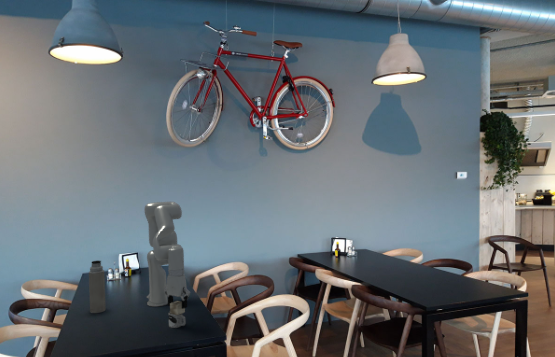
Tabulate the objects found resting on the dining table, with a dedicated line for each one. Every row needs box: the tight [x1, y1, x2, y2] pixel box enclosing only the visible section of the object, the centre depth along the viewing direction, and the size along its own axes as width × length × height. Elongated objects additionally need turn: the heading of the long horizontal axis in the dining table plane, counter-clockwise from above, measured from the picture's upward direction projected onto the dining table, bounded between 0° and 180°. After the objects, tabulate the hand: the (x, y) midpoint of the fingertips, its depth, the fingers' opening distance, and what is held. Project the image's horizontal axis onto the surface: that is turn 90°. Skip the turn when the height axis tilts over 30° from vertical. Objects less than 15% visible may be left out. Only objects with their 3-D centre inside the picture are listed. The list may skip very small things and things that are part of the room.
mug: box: [168, 311, 187, 329], centre depth 213 cm, size 10×7×7 cm
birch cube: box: [169, 300, 186, 315], centre depth 213 cm, size 5×5×5 cm
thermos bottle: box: [88, 260, 107, 314], centre depth 239 cm, size 8×8×28 cm
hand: (177, 306), depth 213 cm, fingers open, 9 cm apart
